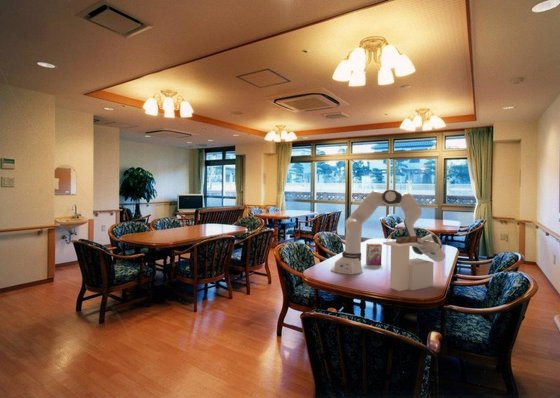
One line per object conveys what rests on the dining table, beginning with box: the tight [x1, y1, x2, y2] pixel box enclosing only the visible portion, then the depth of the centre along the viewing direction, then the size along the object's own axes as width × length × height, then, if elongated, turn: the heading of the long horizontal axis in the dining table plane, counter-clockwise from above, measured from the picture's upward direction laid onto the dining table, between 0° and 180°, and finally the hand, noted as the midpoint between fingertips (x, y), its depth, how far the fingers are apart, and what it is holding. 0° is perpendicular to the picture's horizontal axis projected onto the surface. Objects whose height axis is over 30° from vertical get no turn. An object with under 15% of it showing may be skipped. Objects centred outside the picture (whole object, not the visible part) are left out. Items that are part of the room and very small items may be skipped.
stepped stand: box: [382, 240, 435, 292], centre depth 197 cm, size 31×12×28 cm, turn 118°
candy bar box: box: [365, 243, 383, 266], centre depth 253 cm, size 11×5×16 cm, turn 92°
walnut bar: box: [395, 235, 421, 244], centre depth 196 cm, size 18×3×3 cm, turn 118°
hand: (414, 238), depth 198 cm, fingers closed on walnut bar, 3 cm apart
